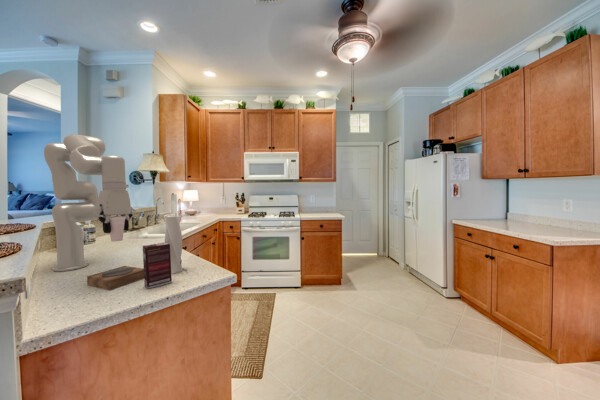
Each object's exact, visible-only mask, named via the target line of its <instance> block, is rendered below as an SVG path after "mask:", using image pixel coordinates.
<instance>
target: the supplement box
mask: <svg viewBox="0 0 600 400" xmlns="http://www.w3.org/2000/svg"><path fill="white" fill-rule="evenodd" d="M142 256H143V257H142V258H143V260H142V261H143V263H142V264H143V269H144V279H143V282H144V287H145V288H146V289H147V290H149V289H154V288H157V287H161V286H165V285H169V284H172V279H173V278H172V277H173V276H172V274H171V257H170V244H169V243H167V242H165V241H164V242H159V243H153V244H146V245H142Z"/></svg>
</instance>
